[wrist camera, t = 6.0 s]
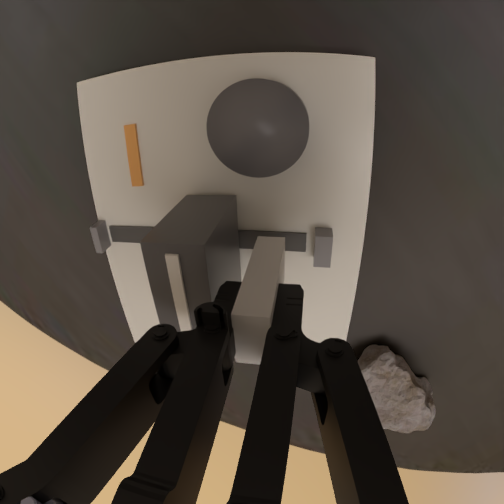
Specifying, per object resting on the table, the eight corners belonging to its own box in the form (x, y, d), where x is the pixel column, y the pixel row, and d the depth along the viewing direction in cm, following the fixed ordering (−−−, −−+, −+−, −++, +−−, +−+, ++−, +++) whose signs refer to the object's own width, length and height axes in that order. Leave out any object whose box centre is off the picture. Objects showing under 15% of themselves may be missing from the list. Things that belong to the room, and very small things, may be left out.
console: (93, 80, 18) (56, 85, 15) (368, 60, 15) (383, 53, 12) (143, 327, 29) (125, 357, 25) (339, 348, 26) (340, 384, 22)
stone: (366, 328, 25) (375, 385, 19) (451, 352, 25) (468, 401, 20) (324, 384, 29) (323, 436, 24) (404, 401, 29) (412, 446, 24)
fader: (186, 194, 19) (138, 243, 13) (236, 195, 18) (203, 246, 13) (197, 279, 22) (163, 343, 16) (241, 283, 21) (217, 351, 16)
